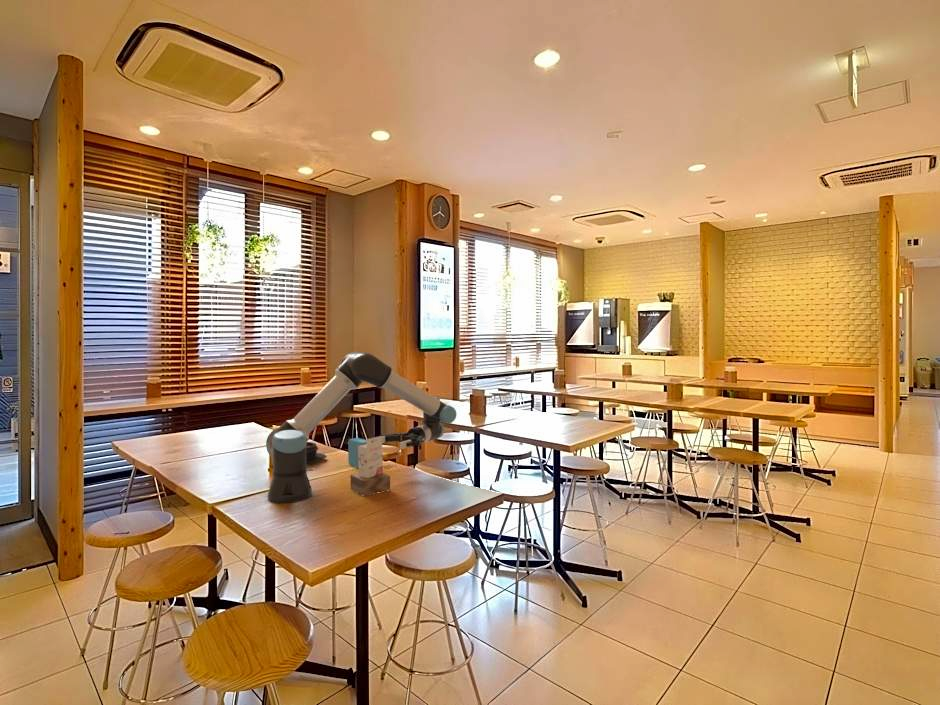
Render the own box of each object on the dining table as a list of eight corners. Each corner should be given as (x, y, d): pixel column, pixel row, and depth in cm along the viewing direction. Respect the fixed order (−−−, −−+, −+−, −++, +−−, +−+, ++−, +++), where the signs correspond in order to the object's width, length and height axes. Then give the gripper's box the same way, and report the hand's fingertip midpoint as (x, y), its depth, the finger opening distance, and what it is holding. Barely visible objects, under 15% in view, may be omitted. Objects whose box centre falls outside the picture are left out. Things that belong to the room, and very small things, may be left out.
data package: (371, 467, 223) (371, 441, 223) (362, 469, 220) (362, 442, 220) (356, 462, 232) (356, 437, 232) (348, 464, 229) (348, 438, 229)
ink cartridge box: (373, 471, 196) (373, 434, 196) (383, 473, 194) (382, 435, 193) (357, 476, 189) (357, 438, 189) (367, 478, 186) (366, 439, 186)
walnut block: (363, 497, 184) (363, 481, 184) (350, 490, 192) (350, 474, 192) (390, 491, 191) (390, 475, 190) (376, 484, 199) (376, 469, 199)
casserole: (280, 471, 217) (279, 452, 216) (264, 463, 230) (264, 445, 230) (333, 462, 233) (333, 444, 233) (316, 455, 247) (316, 438, 247)
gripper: (442, 447, 211) (411, 457, 193) (396, 440, 224) (363, 449, 206) (442, 429, 211) (411, 438, 193) (396, 423, 224) (363, 431, 205)
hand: (386, 444), depth 199 cm, fingers open, 13 cm apart
